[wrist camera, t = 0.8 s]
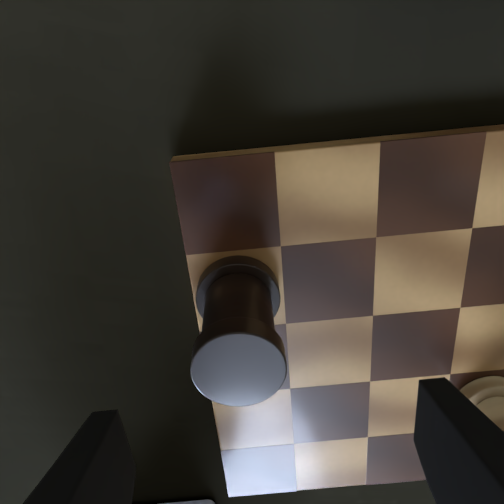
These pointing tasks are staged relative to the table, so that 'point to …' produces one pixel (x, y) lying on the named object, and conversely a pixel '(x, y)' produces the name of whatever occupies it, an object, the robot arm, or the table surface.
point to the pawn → (488, 397)
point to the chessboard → (354, 292)
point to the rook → (238, 333)
